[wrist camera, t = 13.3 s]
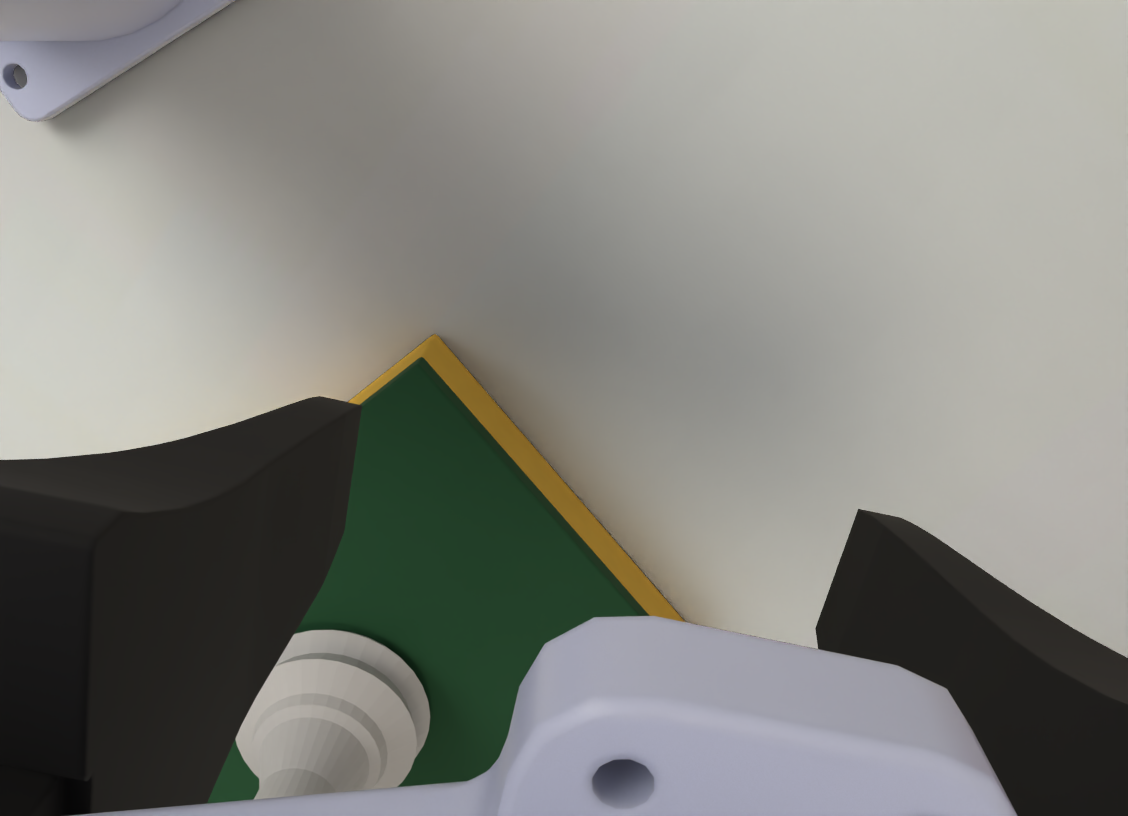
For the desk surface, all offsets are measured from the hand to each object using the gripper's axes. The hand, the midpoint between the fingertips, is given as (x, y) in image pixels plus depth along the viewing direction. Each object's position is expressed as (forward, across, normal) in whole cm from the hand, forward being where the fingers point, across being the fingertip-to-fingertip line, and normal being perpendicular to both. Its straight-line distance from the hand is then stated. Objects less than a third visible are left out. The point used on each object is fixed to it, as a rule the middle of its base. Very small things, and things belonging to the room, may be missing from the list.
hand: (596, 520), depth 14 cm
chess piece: (+8, +4, +10) cm, 14 cm away
